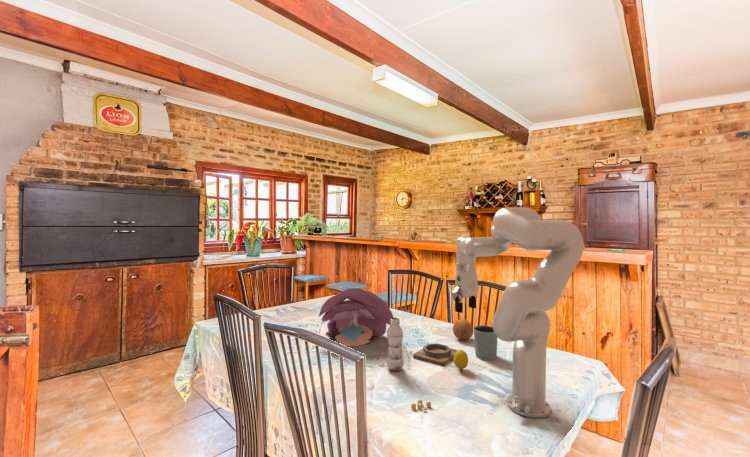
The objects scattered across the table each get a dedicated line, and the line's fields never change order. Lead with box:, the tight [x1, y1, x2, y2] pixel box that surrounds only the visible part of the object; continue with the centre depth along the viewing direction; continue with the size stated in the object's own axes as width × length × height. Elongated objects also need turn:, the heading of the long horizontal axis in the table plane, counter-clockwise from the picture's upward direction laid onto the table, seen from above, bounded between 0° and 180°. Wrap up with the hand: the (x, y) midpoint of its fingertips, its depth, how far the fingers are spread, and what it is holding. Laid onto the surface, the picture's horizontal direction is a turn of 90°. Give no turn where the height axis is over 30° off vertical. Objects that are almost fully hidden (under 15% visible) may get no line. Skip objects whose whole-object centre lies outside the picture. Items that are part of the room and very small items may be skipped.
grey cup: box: [473, 325, 499, 361], centre depth 150 cm, size 10×10×12 cm
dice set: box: [410, 399, 432, 413], centre depth 110 cm, size 5×5×2 cm
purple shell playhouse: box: [318, 287, 395, 347], centre depth 172 cm, size 35×24×28 cm
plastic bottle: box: [386, 317, 404, 372], centre depth 137 cm, size 6×7×20 cm
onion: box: [452, 318, 474, 341], centre depth 171 cm, size 10×10×10 cm
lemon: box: [453, 349, 469, 371], centre depth 137 cm, size 6×6×8 cm
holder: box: [412, 342, 459, 367], centre depth 151 cm, size 16×14×3 cm
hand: (465, 309), depth 141 cm, fingers open, 9 cm apart
